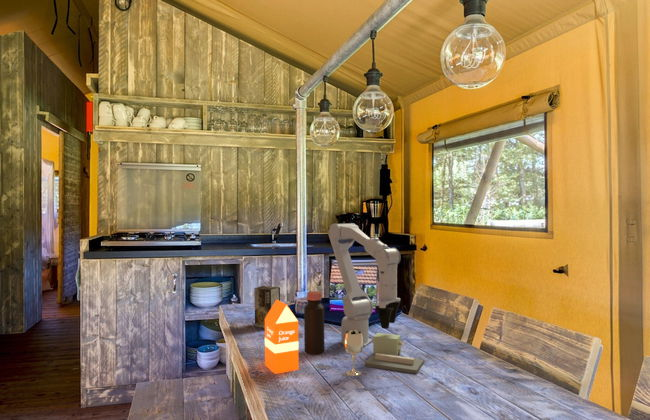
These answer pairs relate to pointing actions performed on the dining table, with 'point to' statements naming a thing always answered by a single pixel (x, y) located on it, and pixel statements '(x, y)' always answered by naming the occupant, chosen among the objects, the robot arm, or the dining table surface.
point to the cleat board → (394, 363)
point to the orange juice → (281, 339)
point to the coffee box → (264, 302)
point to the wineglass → (353, 347)
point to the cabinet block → (387, 344)
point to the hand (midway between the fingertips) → (388, 325)
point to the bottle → (314, 324)
